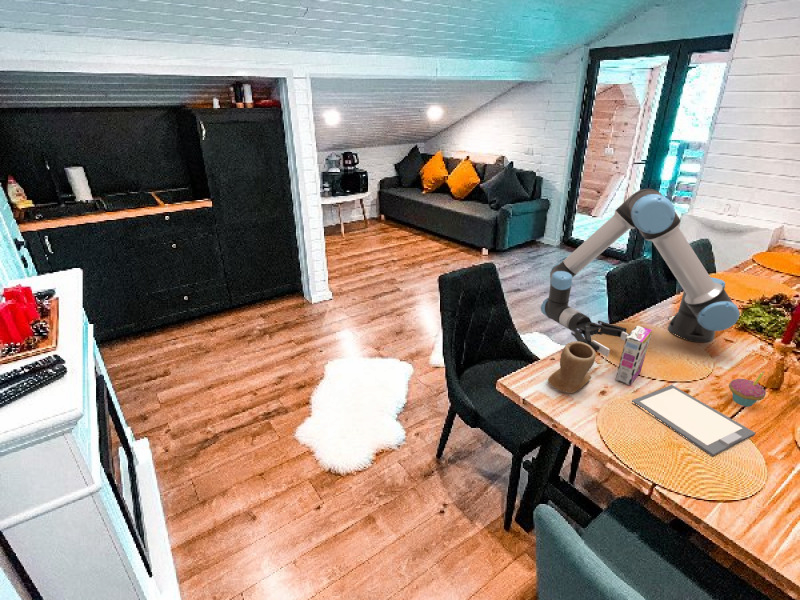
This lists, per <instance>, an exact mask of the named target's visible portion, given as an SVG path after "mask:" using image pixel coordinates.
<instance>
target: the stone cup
mask: <svg viewBox="0 0 800 600" xmlns="http://www.w3.org/2000/svg"><path fill="white" fill-rule="evenodd" d="M595 360H596V350H594V349H593V348H592V347H591V346H590V345H588V344H586V343H584V342H579V341H577V340H576V341H575V340H574V341H571V342H569V343H568V342H567V343H566V345H565V346H564V347H563V349H562V351H561V355H560V358H559V366H560V367H559V368H558V369H557V370H556V371H554V372H553V373H552V374H550V376H549V377H548V379H547V383H548V384H549V385H550V386H552V387H553V388H554V389H556V390H558V391H560V392H563V393H567V394H573V393H576V392H577V391H580V390H581V389H582V388H584V386H585V385H586V384H587V383H588V382H589V381H590V380H591V379H592V376H591V374H590V373H589V371H590V369H591V368H592V367H593V366H594V363H595Z"/></svg>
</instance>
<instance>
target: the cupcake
mask: <svg viewBox="0 0 800 600" xmlns="http://www.w3.org/2000/svg"><path fill="white" fill-rule="evenodd" d="M764 374H765V371H763V372H760V374H759V375H758V376H757V377H756V379H755V380H750V379H745V378H737V379H732V380H731V381H730V382H729V384H728V387H729V391H730V392H732V401H733V402H734V403H735V404H737V405H739V406H743V407H746V408H747V407H749V408H750V407H752V406H753V405H754V404H755V403H756V402H758V401H759V402H760V401H762V400H764V399H765V396H766V391H765V388H764V387H763V386H762V385H760V384H759V381H760V380H761V378H762V377H763V375H764Z"/></svg>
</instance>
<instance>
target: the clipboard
mask: <svg viewBox="0 0 800 600" xmlns="http://www.w3.org/2000/svg"><path fill="white" fill-rule="evenodd" d="M631 401H632V402H634V403H635V404H637V405H639V406H640V407H642V408H644V409H645V410H647V411H648V412H649V413H651V414H652V415H654V416H655V417H656V418H657V419H659V420H661V421H662V422H663V423H665V424H666V425H668V426H669V427H671V428H672V429H673V430H675V431H676V432H678V433H679V434H681V435H682V436H684V437H685V438H687V439H688V440H689V441H688V440H687V439H686V440H687V441H688V442H690V441H691V442H692V443H691V442H690V443H691V444H693V443H694V444H695V445H694V444H693V445H694V446H696V447H697V446H698V447H697V448H698V449H700V448H701V449H700V450H702V451H703V450H704V451H703V452H705V451H706V452H707V453H706V452H705V453H706V454H707V455H710V456H711V457H715V456H716V454H717V455H719V454H720V452H721V453H723V452H724V451H726V450H728V449H730V448H732V447H734V446H737V445H738V444H740V443H742V442H745V441H746V440H748V439H750V438H752V437H754V436H755V435H756V432H754V431H753V430H751V429H749V428H748V427H746V426H744V425H742V424H741V423H740V422H738V421H735V420H734V419H732V418H731V417H728V416H727V415H726V414H723V412H720V411H719V410H717V409H715V408H713V407H711V406H710V405H708V404H706V403H704V402H702V401H701V400H699V399H697V398H696V397H694V396H692V395H690V394H689V393H687V392H685V391H684V390H682V389H680V388H678V387H677V386H674V385H673V384H671V385H668V386H665V387H663V388H660V389H658V390H655V391H652V392H650V393H648V394H647V393H646V394H644V395H642V396H639V397H637V398H635V399H632V400H631ZM657 419H656V420H657ZM663 423H662V424H663ZM666 425H665V426H666ZM669 427H668V428H669ZM672 429H671V430H672ZM673 430H672V431H673ZM675 431H674V432H675ZM676 432H675V433H676ZM678 433H677V434H678ZM679 434H678V435H679ZM681 435H680V436H681ZM682 436H681V437H682ZM684 437H683V438H684ZM685 438H684V439H685ZM718 453H719V454H718ZM714 455H715V456H714Z"/></svg>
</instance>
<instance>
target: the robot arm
mask: <svg viewBox="0 0 800 600" xmlns="http://www.w3.org/2000/svg"><path fill="white" fill-rule="evenodd" d="M681 222H682V221H681V219H680V217H679V216H678V214H677V212H676V209H675V206H674V204H673V203H672V201H671V200H670V199H669V198H668V197H665V196H664V194H662V193H661V192H660V191H658V190H656V189H653V188H644V189H640V190H638V191H636V192H634V193H633V194H631V195H630V196H629V197H628V198H627V199H626V200H624V202H623V203H622V204H620V205H619V207H617V208H615V210H614V213H613V215H612V216H611V217H610V218H609V219H608V220H607V221H606V222H605V223H604V224H602V226H600V227H599V228H598V229H597V230H595V232H594V233H592V234H591V235H590V236H589V237H588V238H587V239H586V240H584V241H583V243H582V244H580V245H579V246H578V247H577V248H576V249H575V250H573V251H572V252H571V253H570V254H569V255H568V256H567V257H566V258H565V259H563V260H562V261H561V262H560V263H557V264H555V265H554V266H552V267H551V270H550V273H549V276H550V278H549V279H550V280H549V281H550V282H549V291H548V297H547V298H545V299H544V300H542V304H541V306H540V311H541V313H542V314H543V315H544V316H546V317H547V318H548V319H550V320H552V321H555V322H556V323H558V324H559V325H561V326H562V327H564V328H566V329H567V330H569V331H571V332H570V334H571V336H572V337H574V339H575V340H576V341H579V342H584V343H586V344H588V345H590V346H591V347H592V348H593V349H594V351H595V352H597V353H600V354H602V356H604V357H609V355H610V352H611V351H610V350H611V349H610V348H609V347H607V346H605V345H604V344H602V343H600V342H598V341H596V340H595V339H593V340H592V337H593V336H595V335H599V336H602V335H606V336H612V337H613V336H614V337H617V338H619V339H620V340H622V341H623V342H625V340H626V337H627V336H628V335H629V334H630V333H628V332H627V331H628V329H627V328H626V327H622V326H618V325H615V324H611V323H607V322H604V321H602V320H597V322H592V320H591V318H590V317H589V316H588V315H585V314H584V313H582V312H580V311H578V310H576V309H574V308H573V307H570V306H569V301H570V296H571V289H572V286H573V278H574V277H575V276H576V275H578V273H580V272H581V271H583V269H584V268H586V267H587V266H588V265H589V264H590V263H592V262H593V261H594V260H595V259H596V258H597V257H599V256H600V255H601V254H602V253H604V251H605V250H607V249H608V248H609V247H610V246H611V245H613V244H614V243H615V242H616V241H618V240H619V239H620V238H621V237H622V236H623V235H625V233H627V232H628V231H629V230H634V229H638V231H639V233H640V235H641V236H642V237H643V238H644V240H645V241H650V242H652V243H653V246H654V247H655V248H656V250H657V251H658V253H659V254H660V256H661V257H662V259H663V260H664V261H665V264H666V265H667V266H668V268H669V269H670V271H671V273H672V274H673V276H674V277H675V279H676V280H677V281H678V284H679V285H680V286H681V288H682V290H683V293H682V297H681V301H680V305H679V307H678V311H677V312H676V313H675V315H674V316H673V317H672V318H671V320H670V321H669V323H668V327H667V330H668V331H669V333H671V332H672V333H674V334H676V335H678V336H680V337H682V338H685V339H687V340H686V341H689V342H693V343H694V342H695V343H708V342H711V341H713V340H714V338H715V335H716V332H721V331H724V330H728V329H730V328H732V327H733V326H734V325H735V324H736V323H737V322H738V320H739V318H740V309H739V308H738V306H737V304H736V303H734V302H733V300H732V299H731V298H730V295H728V293H727V291H726V290H725V289H726V282H725V280H723V279H720V278H717V277H711V276H710V274H709V273H708V271H707V270H706V268H705V266H704V265H703V263H702V262H701V260H700V259H699V257H698V255H697V254H696V253H695V251H694V248H693V247H692V246H691V245H690V243H689V241H688V240H687V238H686V236H685V235H684V234H683V232H682V231H681V229H680V226H681V224H682V223H681ZM672 333H671V334H672ZM591 336H592V337H591ZM682 338H681V339H682ZM685 339H684V340H685Z"/></svg>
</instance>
